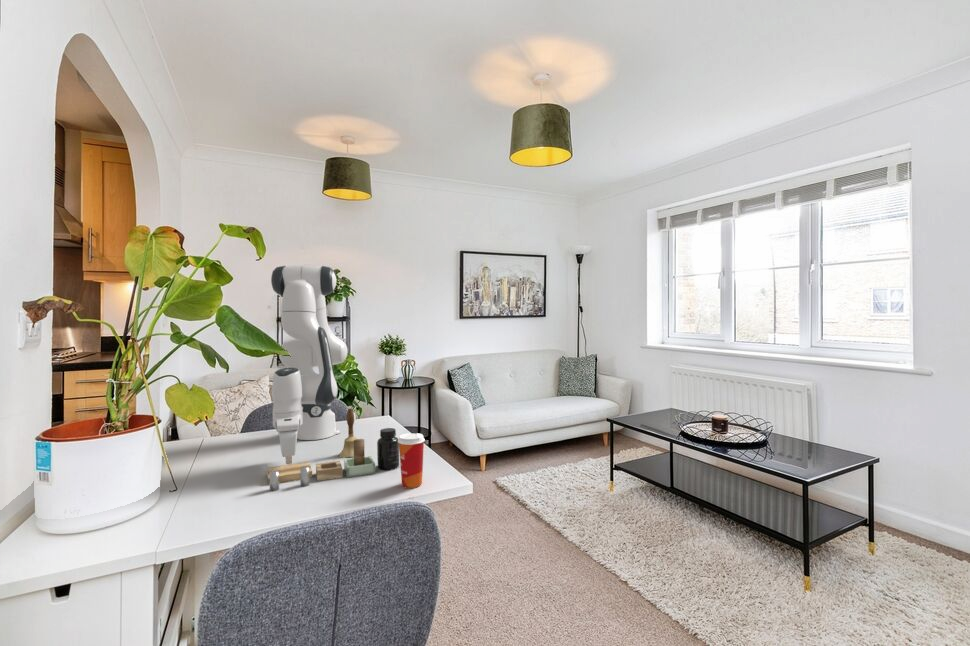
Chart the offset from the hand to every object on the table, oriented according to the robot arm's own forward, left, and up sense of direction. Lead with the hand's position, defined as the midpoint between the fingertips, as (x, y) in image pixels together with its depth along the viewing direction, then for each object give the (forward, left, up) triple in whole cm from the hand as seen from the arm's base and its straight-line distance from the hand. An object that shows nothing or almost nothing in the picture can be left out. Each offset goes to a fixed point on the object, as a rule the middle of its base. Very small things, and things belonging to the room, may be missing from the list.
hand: (288, 462), depth 147 cm
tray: (+13, +20, -2) cm, 24 cm away
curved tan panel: (+8, 0, -2) cm, 8 cm away
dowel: (+12, +20, -1) cm, 24 cm away
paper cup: (+31, +32, -2) cm, 44 cm away
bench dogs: (+18, 0, -2) cm, 18 cm away
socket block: (+13, +11, -2) cm, 17 cm away
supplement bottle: (+13, +29, -2) cm, 32 cm away
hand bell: (-6, +20, -2) cm, 21 cm away
